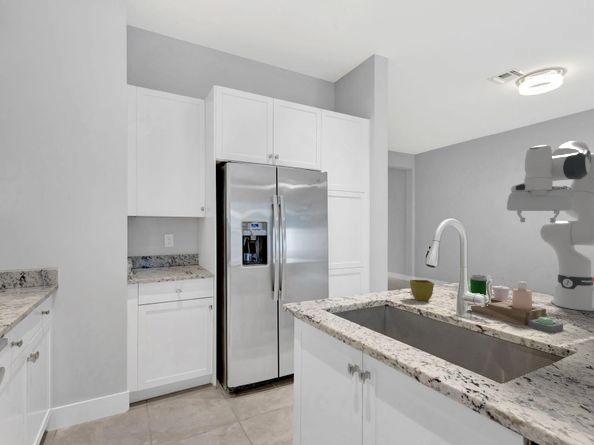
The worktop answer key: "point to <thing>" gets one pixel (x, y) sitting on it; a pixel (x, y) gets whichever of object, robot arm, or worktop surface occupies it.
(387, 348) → the worktop surface
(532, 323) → the button housing
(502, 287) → the smoothie
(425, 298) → the flower pot
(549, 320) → the button
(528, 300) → the bottle
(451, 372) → the worktop surface
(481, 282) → the soda can
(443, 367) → the worktop surface
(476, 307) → the pallet
